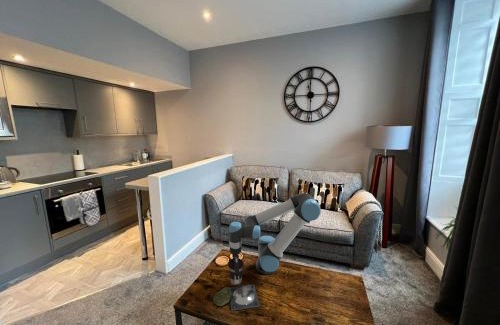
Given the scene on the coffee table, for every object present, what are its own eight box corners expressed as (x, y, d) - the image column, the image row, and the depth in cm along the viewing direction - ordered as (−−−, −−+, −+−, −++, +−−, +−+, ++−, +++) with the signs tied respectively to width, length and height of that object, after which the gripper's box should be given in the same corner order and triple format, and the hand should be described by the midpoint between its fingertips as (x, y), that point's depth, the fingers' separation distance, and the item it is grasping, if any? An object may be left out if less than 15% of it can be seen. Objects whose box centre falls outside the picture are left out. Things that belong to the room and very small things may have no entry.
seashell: (209, 302, 121) (216, 283, 125) (213, 301, 127) (220, 283, 132) (225, 309, 118) (232, 289, 122) (228, 308, 124) (235, 289, 129)
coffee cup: (246, 280, 140) (246, 260, 137) (235, 289, 132) (235, 268, 130) (236, 273, 146) (236, 254, 144) (225, 281, 139) (224, 261, 136)
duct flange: (254, 285, 135) (254, 283, 135) (259, 306, 120) (259, 304, 120) (229, 289, 133) (229, 286, 132) (231, 311, 117) (231, 308, 117)
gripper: (228, 236, 146) (228, 264, 150) (231, 258, 122) (231, 290, 126) (239, 235, 148) (239, 262, 151) (243, 257, 123) (244, 289, 127)
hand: (235, 275), depth 139 cm, fingers open, 13 cm apart
